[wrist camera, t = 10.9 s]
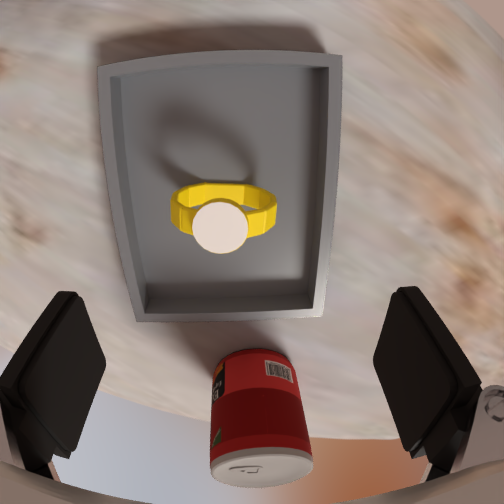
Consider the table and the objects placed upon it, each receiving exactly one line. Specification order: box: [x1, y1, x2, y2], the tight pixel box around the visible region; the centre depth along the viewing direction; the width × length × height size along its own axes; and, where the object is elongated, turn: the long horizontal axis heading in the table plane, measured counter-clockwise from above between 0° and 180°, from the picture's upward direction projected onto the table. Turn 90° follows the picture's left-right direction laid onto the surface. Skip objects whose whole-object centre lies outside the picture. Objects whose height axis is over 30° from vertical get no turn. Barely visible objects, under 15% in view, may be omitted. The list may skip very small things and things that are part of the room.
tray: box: [97, 50, 342, 322], centre depth 20 cm, size 14×18×2 cm
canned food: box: [210, 349, 313, 488], centre depth 25 cm, size 8×8×11 cm
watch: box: [170, 182, 277, 254], centre depth 18 cm, size 6×3×6 cm, turn 86°
